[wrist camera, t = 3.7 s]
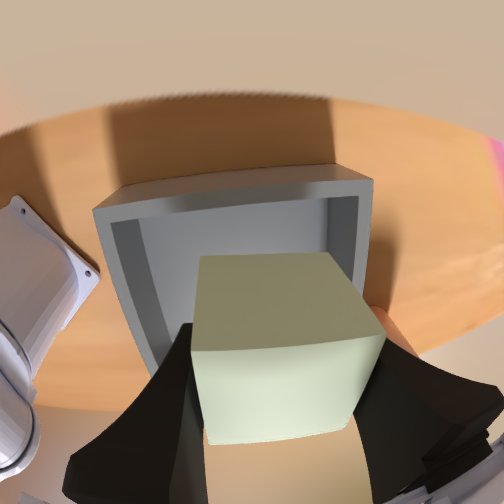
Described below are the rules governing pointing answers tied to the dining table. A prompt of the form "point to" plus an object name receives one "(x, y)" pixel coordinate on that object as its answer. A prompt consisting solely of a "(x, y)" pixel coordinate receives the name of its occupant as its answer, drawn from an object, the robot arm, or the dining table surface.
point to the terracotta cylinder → (392, 329)
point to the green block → (279, 346)
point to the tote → (223, 235)
